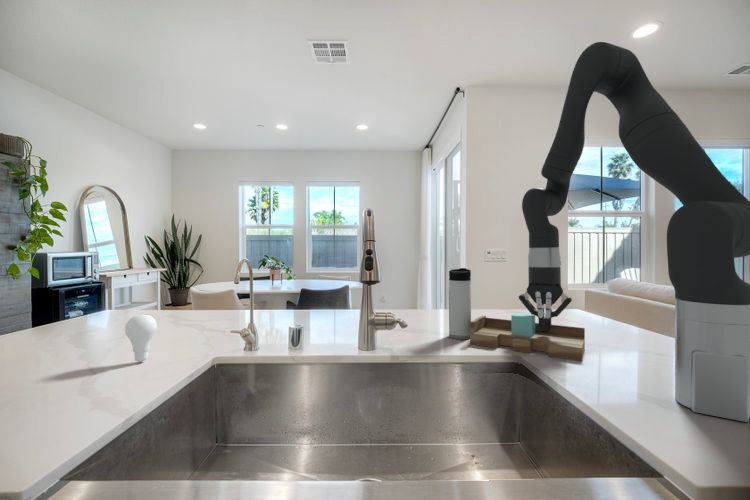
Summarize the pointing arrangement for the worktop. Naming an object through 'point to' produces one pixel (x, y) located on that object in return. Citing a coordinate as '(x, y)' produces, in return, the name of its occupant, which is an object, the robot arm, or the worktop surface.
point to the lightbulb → (141, 334)
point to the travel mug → (459, 303)
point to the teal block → (523, 324)
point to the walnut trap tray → (529, 338)
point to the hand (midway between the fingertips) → (545, 332)
